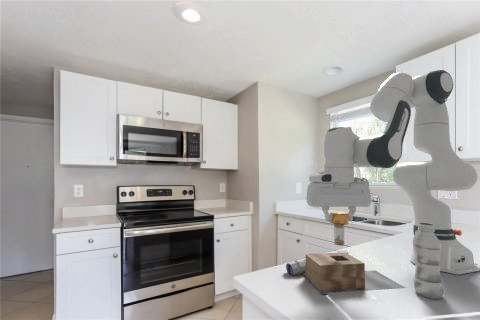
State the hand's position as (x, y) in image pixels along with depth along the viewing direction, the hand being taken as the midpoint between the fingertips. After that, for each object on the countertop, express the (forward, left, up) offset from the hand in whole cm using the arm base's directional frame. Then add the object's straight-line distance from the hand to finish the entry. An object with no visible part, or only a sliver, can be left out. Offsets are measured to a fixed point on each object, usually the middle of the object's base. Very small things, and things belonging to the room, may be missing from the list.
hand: (338, 221), depth 78 cm
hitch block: (-4, 0, -19) cm, 19 cm away
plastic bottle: (-20, +11, -19) cm, 30 cm away
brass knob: (0, 0, -7) cm, 7 cm away
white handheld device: (+1, -10, -20) cm, 22 cm away
